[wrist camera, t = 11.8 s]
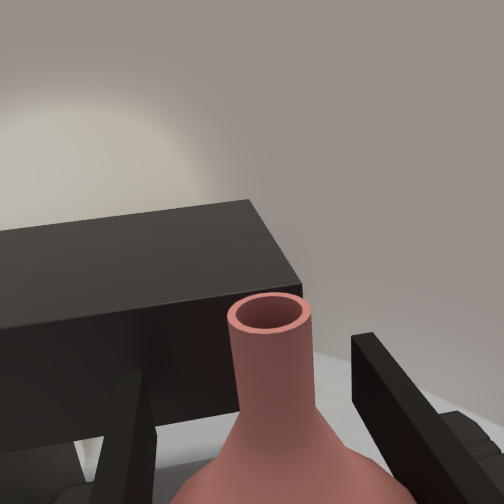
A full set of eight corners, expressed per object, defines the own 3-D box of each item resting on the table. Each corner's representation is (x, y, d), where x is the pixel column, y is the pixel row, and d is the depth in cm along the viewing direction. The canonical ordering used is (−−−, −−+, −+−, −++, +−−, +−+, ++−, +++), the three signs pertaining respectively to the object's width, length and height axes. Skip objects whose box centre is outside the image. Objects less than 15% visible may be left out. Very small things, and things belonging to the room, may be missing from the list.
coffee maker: (280, 452, 34) (257, 197, 27) (332, 646, 22) (316, 280, 15) (61, 494, 33) (-28, 234, 25) (-11, 730, 20) (-225, 362, 13)
